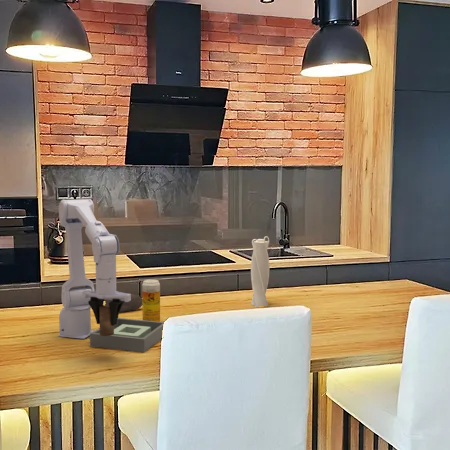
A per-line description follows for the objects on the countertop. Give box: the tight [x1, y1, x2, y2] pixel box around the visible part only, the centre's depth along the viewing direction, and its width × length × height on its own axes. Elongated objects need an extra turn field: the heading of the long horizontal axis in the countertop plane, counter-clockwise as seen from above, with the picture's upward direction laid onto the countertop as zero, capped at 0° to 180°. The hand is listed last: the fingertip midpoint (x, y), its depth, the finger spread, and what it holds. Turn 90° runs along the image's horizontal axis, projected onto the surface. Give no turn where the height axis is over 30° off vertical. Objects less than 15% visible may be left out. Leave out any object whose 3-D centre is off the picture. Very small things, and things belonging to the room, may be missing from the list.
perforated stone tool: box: [104, 293, 143, 313], centre depth 207 cm, size 15×5×7 cm, turn 115°
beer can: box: [141, 279, 161, 322], centre depth 192 cm, size 6×6×15 cm
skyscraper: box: [250, 235, 271, 308], centre depth 216 cm, size 8×8×28 cm
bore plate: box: [113, 324, 151, 338], centre depth 174 cm, size 10×10×2 cm
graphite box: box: [89, 317, 165, 353], centre depth 174 cm, size 18×18×4 cm
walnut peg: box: [99, 304, 114, 336], centre depth 159 cm, size 4×4×8 cm
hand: (106, 323), depth 159 cm, fingers closed on walnut peg, 4 cm apart
